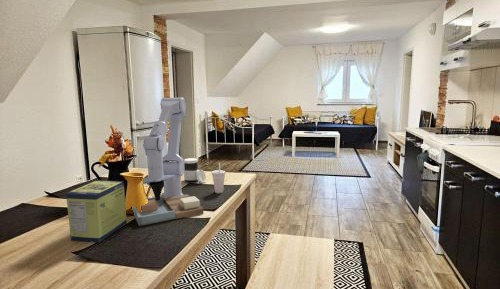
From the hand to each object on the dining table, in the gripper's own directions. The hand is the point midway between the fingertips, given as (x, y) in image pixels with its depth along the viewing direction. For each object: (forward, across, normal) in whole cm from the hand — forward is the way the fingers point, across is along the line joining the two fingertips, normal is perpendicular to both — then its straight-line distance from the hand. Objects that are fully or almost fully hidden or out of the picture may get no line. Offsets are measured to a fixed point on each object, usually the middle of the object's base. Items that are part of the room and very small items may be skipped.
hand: (157, 199), depth 126 cm
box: (+3, -3, -5) cm, 7 cm away
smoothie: (+4, +29, +7) cm, 31 cm away
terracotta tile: (+3, -4, 0) cm, 5 cm away
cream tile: (+2, +10, -9) cm, 14 cm away
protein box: (+4, -22, -13) cm, 25 cm away
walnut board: (+3, +9, -5) cm, 10 cm away
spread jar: (+4, +25, +30) cm, 40 cm away
